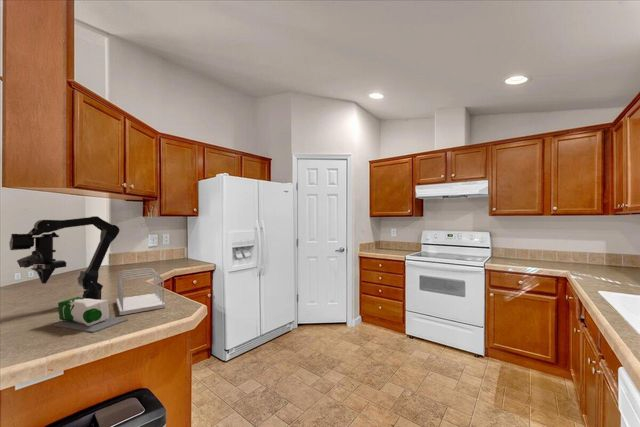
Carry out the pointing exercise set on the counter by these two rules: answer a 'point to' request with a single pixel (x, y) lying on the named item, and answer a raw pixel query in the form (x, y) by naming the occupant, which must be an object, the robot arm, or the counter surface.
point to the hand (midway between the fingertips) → (44, 283)
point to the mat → (93, 328)
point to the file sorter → (142, 301)
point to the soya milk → (83, 310)
